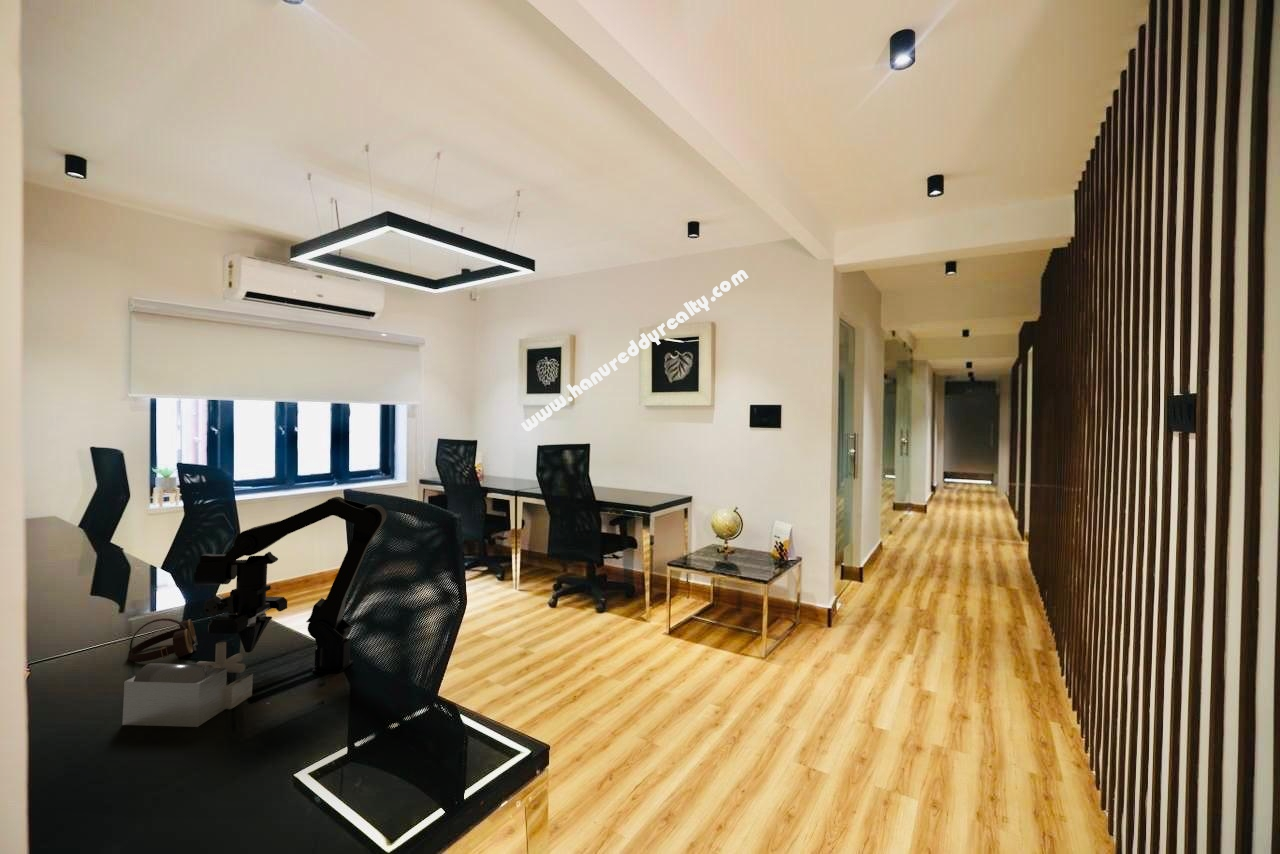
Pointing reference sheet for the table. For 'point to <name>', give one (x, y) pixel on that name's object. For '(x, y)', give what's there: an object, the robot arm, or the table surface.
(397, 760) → the table surface
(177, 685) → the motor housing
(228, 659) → the pipe connector
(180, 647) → the goggles
